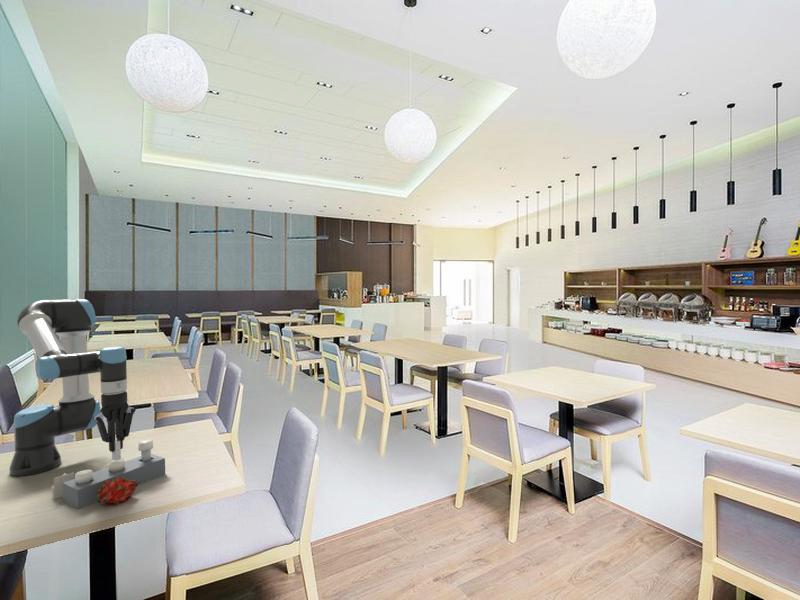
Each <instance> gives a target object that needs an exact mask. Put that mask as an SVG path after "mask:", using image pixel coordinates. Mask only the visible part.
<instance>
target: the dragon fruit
mask: <svg viewBox="0 0 800 600" xmlns="http://www.w3.org/2000/svg"><path fill="white" fill-rule="evenodd" d="M105 482H106V484H103V485H101V487H100V488H99V489H98V490H97V495H96V496H97V498H100V499H101V500H99V501H98V504H107V505H112V504H114V505H119V503H120V502H123V501H126V502H127V501H128V500H130V499H131V498H132V494H133V493H134V492H135V490H136V489H137V488H138V486H139V485H138V483H137V482H136V481H135V480H125V478H124V477H121V478H120V479H117V478H115V479H113V480H111V481H105ZM136 483H137V484H136Z"/></svg>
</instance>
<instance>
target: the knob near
mask: <svg viewBox="0 0 800 600" xmlns="http://www.w3.org/2000/svg"><path fill="white" fill-rule="evenodd" d="M93 472H94V471H93V469H84V470H81V471H76V473H74V479H75V483H79V485H82V484H85V483H88V482H90V480H92V479H93Z"/></svg>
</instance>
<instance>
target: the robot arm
mask: <svg viewBox="0 0 800 600" xmlns="http://www.w3.org/2000/svg"><path fill="white" fill-rule="evenodd" d="M96 318H97V317H96V312H95V309H94V306H93V304H92V303H91V302H90V301H89V300H88V299H85V298H82V299H81V298H71V299H69V298H68V299H66V298H65V299H42V300H37V301H33V302H31V303H30V304H28V305H27V306H25V307H24V308H23V309H21V311H20V313H19V314H18V315H17V324H16V325H17V327H18V328H19V330H20V333H22V334H23V335H25V336H26V337H27V339H28V340H29V342H30V344H31V346H32V348H33V350H34V352H35V354H36V356H37V357H38V358H36V361H35V365H34V366H35V367H34V369H35V374H36V375H35V376H36V377H37V379H39V380H40V381H45V380H57V379H62V395H63V396H61V398H60V399H59V400H58V405H56V406H54V405H53V404H52V403H43V404H37V405H33V406H30V407H26V408H24V409H21V410H20V411H18V412H17V413H16V414H15V415H14V416H13V417H14V418H13V430H14V453H13V457H12V460H11V463H10V466H9V475H10V476H15V477H23V476H24V477H25V476H31V475H36V474H40V473H43V472H47V471H51V470H52V469H55V468H57V467H58V466H60V465H61V463H62V457H61V454H60V452H59V450H58V447H57V446H56V444H55V439H56V437H59V436H63V435H67V434H72V433H73V434H74V433H76V432H84V431H86V430H89V429H93V428H94V427H96V426H97V429H98V432H99V435H100V438H101V441H102V442H104V443H108V450H109V452H110V453H111V459H112V460H115V461H118V460H121V459H122V457H121V455H122V454H121V451H122V450H123V448H124V441H125V438H127V437H129V435H130V430H131V427H132V426H131V425H132V420H133V416H134V415H135V414H134V413H135V412H136V411H137V410H136V408H135V407H131V406H129V403H128V391H127V389H128V380H127V379H128V378H127V377H128V376H127V372H128V371H127V358H128V356H127V351H126V348H125V347H123V346H108V347H103V348H101V349H95V350H92V351H88V346H87V345H88V343H87V342H88V341H87V335H88V334H90V332H91V328H92V327H94V326H95V325H96ZM59 338H60V339H59ZM96 373H97V374H98V373H100V393H102V394H100V395H101V396H100V399H99V400H101V401H99V400H98V399H97V398H95V394H92V393H91V392H90V380H89V376H90V375H89V374H91V375H92V374H96ZM100 402H101V403H100ZM104 417H105V419H106V423H107V427H106V424H105V422H104ZM112 460H111V461H112Z"/></svg>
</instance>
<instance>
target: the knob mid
mask: <svg viewBox="0 0 800 600" xmlns="http://www.w3.org/2000/svg"><path fill="white" fill-rule="evenodd" d="M125 461H126V460H125V459H124V458H121V460H118V461H115V460H111V461H109V462H108V467H109V471H112V473H116V472H119V471H121V470H122V469H124V468H125Z"/></svg>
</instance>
